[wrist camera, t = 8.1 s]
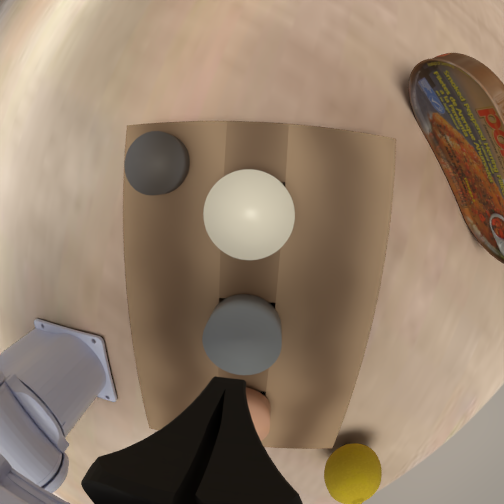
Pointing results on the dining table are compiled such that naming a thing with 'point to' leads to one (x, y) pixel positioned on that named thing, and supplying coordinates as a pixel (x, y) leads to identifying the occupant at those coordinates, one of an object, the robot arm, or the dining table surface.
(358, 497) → the lemon
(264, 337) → the knob slate
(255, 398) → the peach pink ball
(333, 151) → the board
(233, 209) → the knob cream
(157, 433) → the robot arm
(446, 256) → the dining table surface
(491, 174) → the tin
